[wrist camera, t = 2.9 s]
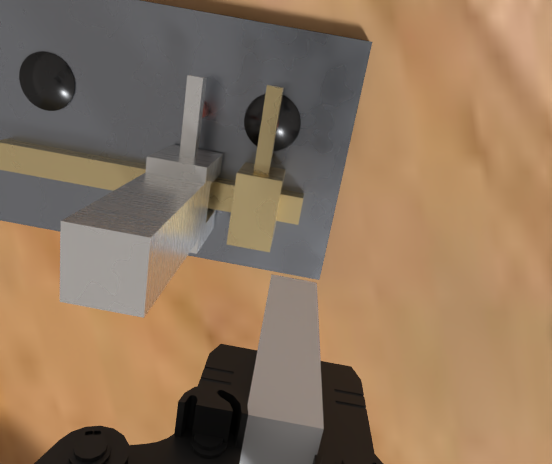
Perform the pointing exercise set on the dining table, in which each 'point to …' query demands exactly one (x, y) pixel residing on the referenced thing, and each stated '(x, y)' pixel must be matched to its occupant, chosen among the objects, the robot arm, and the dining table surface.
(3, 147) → the gauge rail
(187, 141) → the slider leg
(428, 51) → the dining table surface
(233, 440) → the robot arm
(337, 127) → the bolt plate
